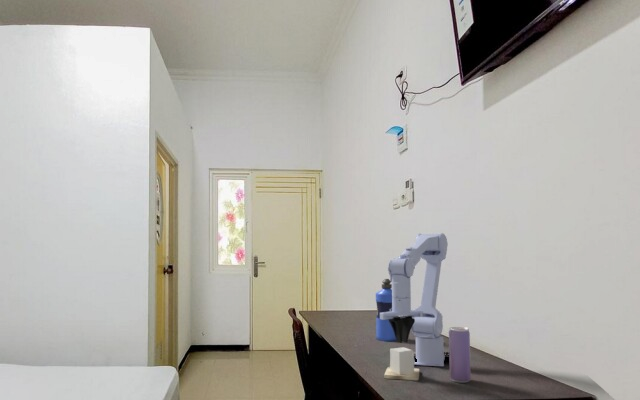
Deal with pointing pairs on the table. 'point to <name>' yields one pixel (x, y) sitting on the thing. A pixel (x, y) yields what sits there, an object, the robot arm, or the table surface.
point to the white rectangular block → (402, 360)
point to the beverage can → (459, 354)
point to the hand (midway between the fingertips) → (401, 342)
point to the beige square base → (402, 375)
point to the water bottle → (384, 305)
